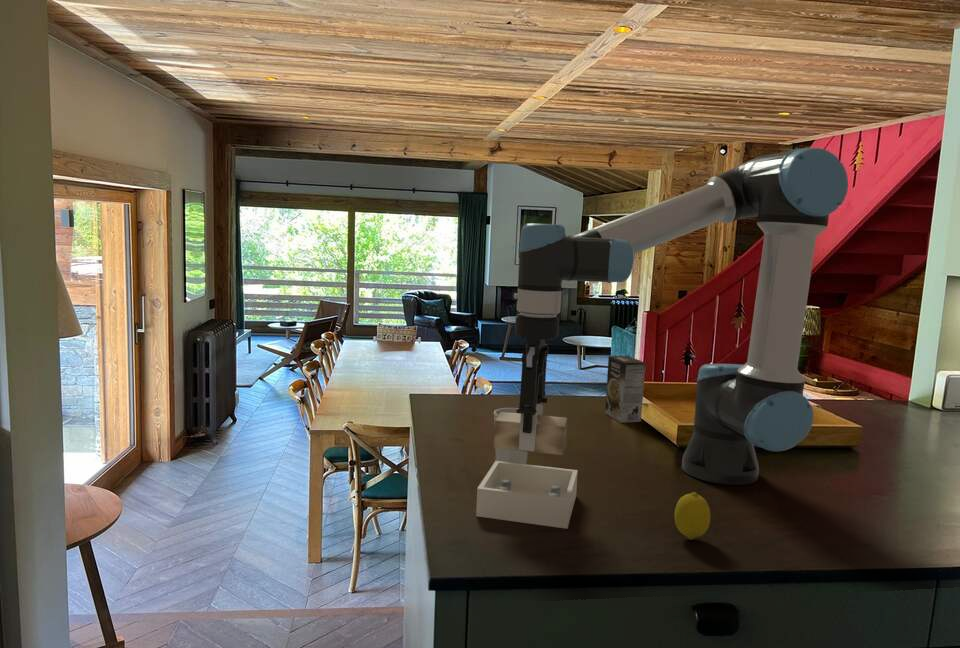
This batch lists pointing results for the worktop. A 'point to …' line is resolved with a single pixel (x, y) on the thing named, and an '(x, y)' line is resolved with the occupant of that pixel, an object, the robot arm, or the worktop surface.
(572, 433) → the worktop surface
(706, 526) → the lemon
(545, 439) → the beige rectangular block
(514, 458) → the cup
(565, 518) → the white open box
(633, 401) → the coffee box
